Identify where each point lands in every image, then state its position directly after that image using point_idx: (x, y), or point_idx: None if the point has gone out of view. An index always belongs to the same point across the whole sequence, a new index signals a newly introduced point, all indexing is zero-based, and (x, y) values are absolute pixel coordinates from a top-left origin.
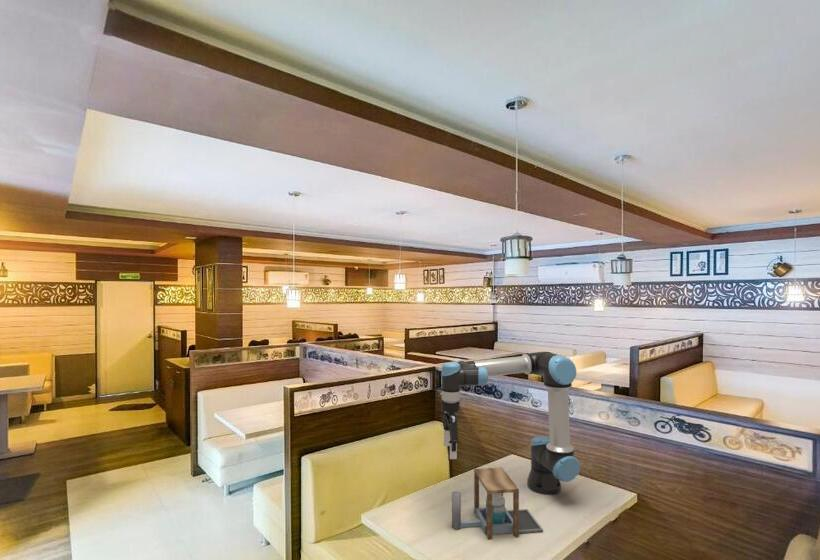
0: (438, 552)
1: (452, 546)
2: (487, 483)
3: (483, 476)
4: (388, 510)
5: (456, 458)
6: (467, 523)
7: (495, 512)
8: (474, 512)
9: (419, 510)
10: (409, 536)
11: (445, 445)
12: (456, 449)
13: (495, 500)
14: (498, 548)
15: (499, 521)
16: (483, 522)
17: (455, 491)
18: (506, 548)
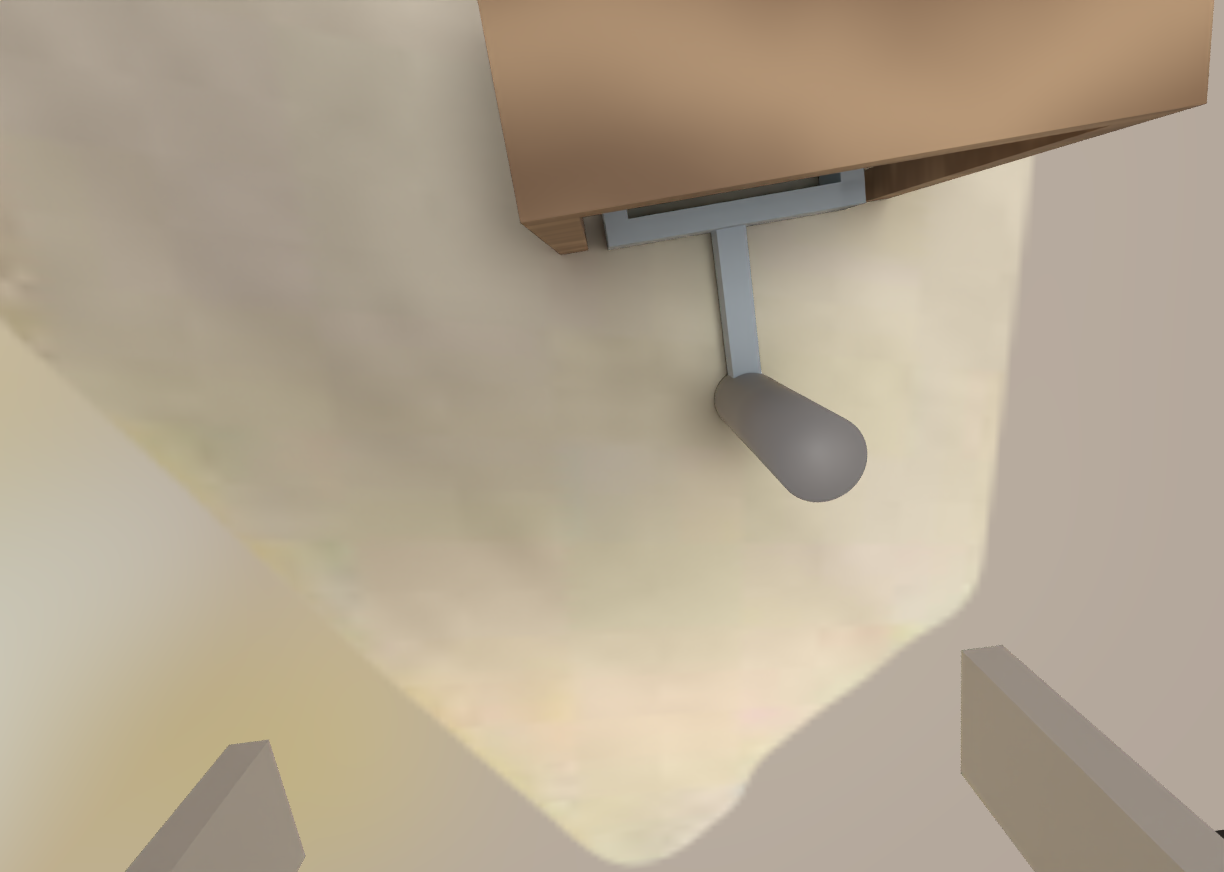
0: (980, 511)
1: (935, 432)
2: (993, 77)
3: (771, 106)
4: (565, 779)
5: (1009, 656)
6: (755, 326)
7: None
8: (566, 253)
9: (554, 615)
10: (825, 658)
11: (288, 840)
12: (1199, 830)
13: None
14: None
15: None
16: (807, 210)
17: (778, 463)
18: None
